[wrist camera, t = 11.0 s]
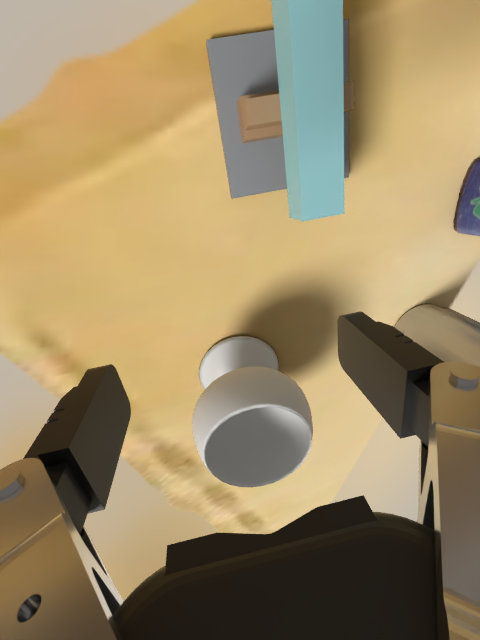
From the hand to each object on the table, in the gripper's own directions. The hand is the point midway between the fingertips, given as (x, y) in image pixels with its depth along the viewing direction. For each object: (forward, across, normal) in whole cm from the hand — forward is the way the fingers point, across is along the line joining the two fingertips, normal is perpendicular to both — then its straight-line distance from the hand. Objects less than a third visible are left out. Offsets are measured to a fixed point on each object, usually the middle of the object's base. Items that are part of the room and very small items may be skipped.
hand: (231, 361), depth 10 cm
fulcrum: (+28, -11, -11) cm, 32 cm away
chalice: (+28, -1, +20) cm, 35 cm away
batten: (+22, -11, -10) cm, 27 cm away
